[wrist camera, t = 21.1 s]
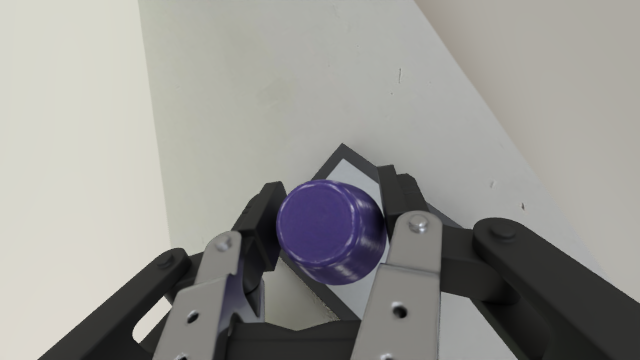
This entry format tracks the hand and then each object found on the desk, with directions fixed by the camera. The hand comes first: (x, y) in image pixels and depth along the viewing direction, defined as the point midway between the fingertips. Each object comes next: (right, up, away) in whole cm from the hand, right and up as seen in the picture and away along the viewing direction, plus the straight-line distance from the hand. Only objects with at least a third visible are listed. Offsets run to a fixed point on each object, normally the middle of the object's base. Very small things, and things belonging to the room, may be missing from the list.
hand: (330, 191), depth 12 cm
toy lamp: (+3, -5, +12) cm, 13 cm away
